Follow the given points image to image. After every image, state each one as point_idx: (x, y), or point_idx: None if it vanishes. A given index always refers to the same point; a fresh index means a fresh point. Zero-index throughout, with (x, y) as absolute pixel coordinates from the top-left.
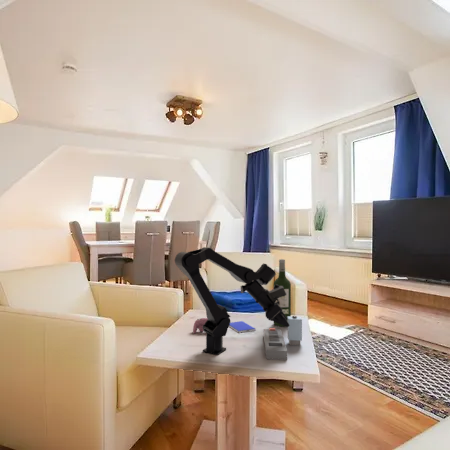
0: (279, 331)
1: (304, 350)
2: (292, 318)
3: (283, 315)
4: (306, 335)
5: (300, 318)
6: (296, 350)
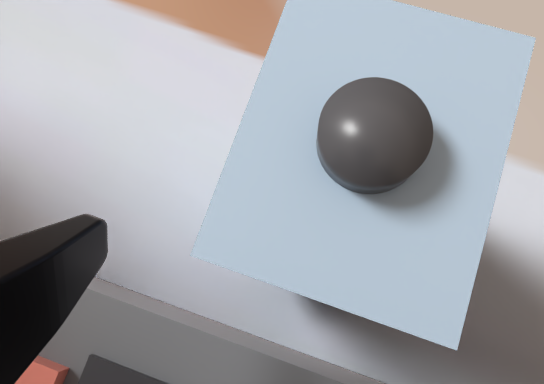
0: (111, 325)
1: (519, 216)
2: (413, 217)
3: (30, 291)
4: (132, 14)
5: (449, 34)
6: (507, 294)
